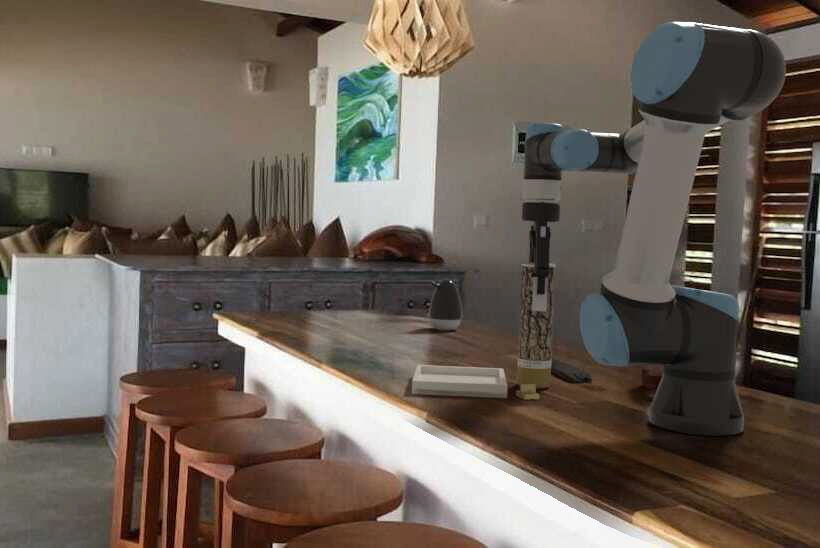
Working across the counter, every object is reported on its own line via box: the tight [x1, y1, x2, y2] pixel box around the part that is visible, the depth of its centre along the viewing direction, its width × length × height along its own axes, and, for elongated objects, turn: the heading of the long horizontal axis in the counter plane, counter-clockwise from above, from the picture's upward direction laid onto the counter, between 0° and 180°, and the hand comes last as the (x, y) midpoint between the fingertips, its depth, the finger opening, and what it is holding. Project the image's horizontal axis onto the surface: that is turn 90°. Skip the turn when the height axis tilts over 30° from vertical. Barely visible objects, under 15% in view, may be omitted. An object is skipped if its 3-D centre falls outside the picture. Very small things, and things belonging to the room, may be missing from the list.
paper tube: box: [516, 262, 557, 390], centre depth 173 cm, size 7×7×25 cm
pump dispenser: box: [428, 278, 464, 332], centre depth 258 cm, size 10×10×15 cm
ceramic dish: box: [411, 364, 508, 399], centre depth 171 cm, size 18×18×2 cm
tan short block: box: [515, 384, 540, 401], centre depth 163 cm, size 4×3×3 cm
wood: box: [551, 357, 593, 384], centre depth 190 cm, size 22×7×3 cm, turn 12°
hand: (536, 307), depth 173 cm, fingers open, 13 cm apart
